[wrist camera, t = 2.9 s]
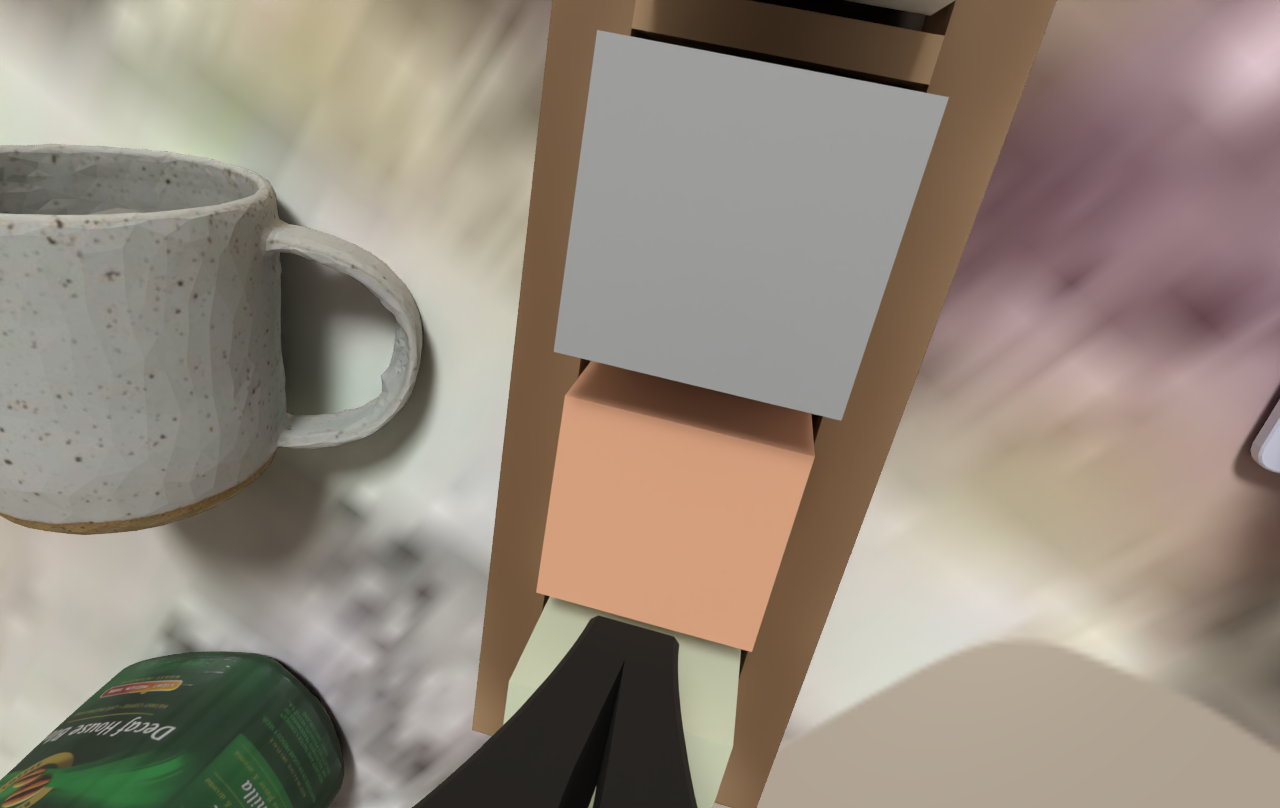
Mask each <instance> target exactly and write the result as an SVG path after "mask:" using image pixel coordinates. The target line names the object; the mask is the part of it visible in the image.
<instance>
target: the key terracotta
mask: <svg viewBox="0 0 1280 808" xmlns="http://www.w3.org/2000/svg"><path fill="white" fill-rule="evenodd" d="M814 458H815V452H814V440H813V428H812V415H811V413H807V412H803V411H799V410H794V409H790V408H786V407H782V406H778V405H774V404H769V403H765V402H761V401H757V400H753V399H749V398H744V397H740V396H736V395H732V394H728V393H724V392H719V391H715V390H711V389H707V388H703V387H699V386H694V385H690V384H686V383H682V382H678V381H674V380H669V379H665V378H661V377H657V376H653V375H649V374H644V373H640V372H636V371H632V370H628V369H624V368H619V367H615V366H611V365H607V364H603V363H599V362H594V361H591V362H590V363H589V365H588V366H587V367H586V368H585V370H584V371H583V372H582V374H581V375H580V376H579V378H578V379H577V380H576V382H575V383H574V384H573V386H572V387H571V388H570V390H569V391H568V392H567V393H566V395H565V399H564V406H563V413H562V420H561V426H560V433H559V440H558V447H557V454H556V461H555V467H554V474H553V481H552V488H551V495H550V501H549V508H548V515H547V522H546V529H545V536H544V542H543V549H542V556H541V563H540V570H539V576H538V583H537V590H536V593H540V594H543V595H547V596H550V597H554V598H558V599H561V600H565V601H569V602H572V603H576V604H579V605H583V606H587V607H590V608H594V609H597V610H601V611H605V612H608V613H612V614H616V615H619V616H623V617H626V618H630V619H634V620H637V621H641V622H644V623H648V624H652V625H655V626H659V627H663V628H666V629H670V630H673V631H677V632H681V633H684V634H688V635H692V636H695V637H699V638H702V639H706V640H710V641H713V642H717V643H720V644H724V645H728V646H731V647H735V648H739V649H742V650H746V651H749V652H752V650H753V647H754V644H755V641H756V638H757V635H758V632H759V628H760V625H761V622H762V619H763V616H764V613H765V610H766V607H767V604H768V601H769V597H770V594H771V591H772V588H773V585H774V582H775V579H776V576H777V573H778V570H779V566H780V563H781V560H782V557H783V554H784V551H785V548H786V545H787V542H788V539H789V535H790V532H791V529H792V526H793V523H794V520H795V517H796V514H797V511H798V508H799V504H800V501H801V498H802V495H803V492H804V489H805V486H806V483H807V480H808V477H809V473H810V470H811V467H812V464H813V461H814Z"/></svg>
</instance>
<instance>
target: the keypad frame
mask: <svg viewBox="0 0 1280 808" xmlns="http://www.w3.org/2000/svg"><path fill="white" fill-rule="evenodd" d="M1056 1H1057V0H955V1H953V2H952V3H950V4H949V5H947V6H945V7H944V8H942V9H940V10H939V11H937V12H936V13H934V14H932V15H931V16H929V15H926V19H925V22H924V25H923V28H922V32H921V31H915V30H910V29H904V28H899V27H893V26H888V25H882V24H877V23H871V22H866V21H861V20H855V19H850V18H844V17H839V16H833V15H828V14H822V13H817V12H811V11H806V10H800V9H795V8H789V7H784V6H778V5H773V4H767V3H762V2H757V1H751V0H552V9H551V18H550V27H549V36H548V45H547V54H546V63H545V72H544V81H543V90H542V100H541V109H540V118H539V127H538V136H537V145H536V154H535V163H534V172H533V181H532V190H531V200H530V209H529V218H528V227H527V236H526V245H525V254H524V263H523V272H522V281H521V290H520V300H519V309H518V318H517V327H516V336H515V345H514V354H513V363H512V372H511V381H510V390H509V399H508V409H507V418H506V427H505V436H504V445H503V454H502V463H501V472H500V481H499V490H498V499H497V509H496V518H495V527H494V536H493V545H492V554H491V563H490V572H489V581H488V590H487V599H486V608H485V618H484V627H483V636H482V645H481V654H480V663H479V672H478V681H477V690H476V699H475V708H474V718H473V727H472V730H474V731H477V732H481V733H484V734H487V735H491V736H493V735H494V734H495V733H496V732H497V731H498V730H499V729H500V728H501V727H502V726H503V722H504V715H505V707H506V700H507V692H508V685H509V680H510V678H511V676H512V674H513V672H514V670H515V668H516V666H517V664H518V662H519V659H520V657H521V655H522V653H523V651H524V649H525V647H526V645H527V643H528V641H529V639H530V637H531V634H532V632H533V630H534V628H535V626H536V624H537V622H538V620H539V618H540V616H541V614H542V612H543V610H544V607H545V605H546V603H547V601H548V599H549V597H550V596H547V595H543V594H540V593H536V590H537V583H538V576H539V570H540V563H541V556H542V549H543V542H544V536H545V529H546V522H547V515H548V508H549V501H550V495H551V488H552V481H553V474H554V467H555V461H556V454H557V447H558V440H559V433H560V426H561V420H562V413H563V406H564V399H565V395H566V393H567V392H568V391H569V390H570V388H571V387H572V386H573V384H574V383H575V382H576V380H577V379H578V378H579V376H580V375H581V374H582V372H583V371H584V370H585V368H586V367H587V366H588V365H589V363H590V362H591V361H590V360H586V359H582V358H578V357H574V356H569V355H565V354H561V353H557V352H554V345H555V338H556V330H557V323H558V316H559V308H560V301H561V293H562V286H563V279H564V271H565V264H566V256H567V249H568V242H569V234H570V227H571V220H572V212H573V205H574V197H575V190H576V183H577V175H578V168H579V160H580V153H581V146H582V138H583V131H584V123H585V116H586V109H587V101H588V94H589V87H590V79H591V72H592V64H593V57H594V50H595V42H596V35H597V30H600V31H605V32H610V33H616V34H621V35H626V36H631V37H637V38H642V39H647V40H652V41H657V42H658V41H660V42H665V43H670V44H675V45H681V46H686V47H691V48H696V49H702V50H707V51H712V52H717V53H722V54H728V55H733V56H738V57H743V58H749V59H754V60H759V61H764V62H770V63H775V64H780V65H785V66H790V67H796V68H801V69H806V70H811V71H817V72H822V73H827V74H832V75H838V76H843V77H848V78H853V79H858V80H864V81H869V82H874V83H879V84H885V85H890V86H895V87H900V88H904V89H909V90H914V91H919V92H924V93H929V94H935V95H940V96H945V97H949V99H948V102H947V105H946V108H945V111H944V114H943V117H942V120H941V123H940V126H939V129H938V132H937V135H936V138H935V141H934V144H933V147H932V150H931V153H930V156H929V159H928V162H927V165H926V168H925V171H924V174H923V177H922V180H921V183H920V186H919V189H918V192H917V195H916V198H915V201H914V204H913V207H912V210H911V213H910V216H909V219H908V222H907V225H906V228H905V231H904V234H903V237H902V240H901V243H900V246H899V249H898V252H897V255H896V258H895V261H894V264H893V267H892V270H891V273H890V276H889V279H888V282H887V285H886V288H885V291H884V294H883V297H882V300H881V303H880V306H879V309H878V312H877V315H876V318H875V321H874V324H873V327H872V330H871V333H870V336H869V339H868V342H867V345H866V348H865V351H864V354H863V357H862V360H861V363H860V366H859V369H858V372H857V375H856V378H855V381H854V384H853V387H852V390H851V393H850V396H849V399H848V402H847V405H846V408H845V411H844V414H843V417H842V420H841V421H840V420H836V419H832V418H828V417H824V416H819V415H815V414H811V415H812V428H813V440H814V452H815V458H814V461H813V464H812V467H811V470H810V473H809V477H808V480H807V483H806V486H805V489H804V492H803V495H802V498H801V501H800V504H799V508H798V511H797V514H796V517H795V520H794V523H793V526H792V529H791V532H790V535H789V539H788V542H787V545H786V548H785V551H784V554H783V557H782V560H781V563H780V566H779V570H778V573H777V576H776V579H775V582H774V585H773V588H772V591H771V594H770V597H769V601H768V604H767V607H766V610H765V613H764V616H763V619H762V622H761V625H760V628H759V632H758V635H757V638H756V641H755V644H754V647H753V650H752V652H749V651H746V650H742V649H741V656H740V669H739V681H738V693H737V705H736V717H735V729H734V741H733V748H732V751H731V754H730V757H729V760H728V763H727V766H726V769H725V772H724V775H723V778H722V781H721V784H720V787H719V790H718V793H717V796H716V799H715V802H714V803H718V804H721V805H724V806H728V807H731V808H757V805H758V802H759V800H760V797H761V794H762V791H763V789H764V786H765V783H766V781H767V778H768V775H769V773H770V770H771V767H772V765H773V762H774V759H775V757H776V754H777V751H778V748H779V746H780V743H781V740H782V738H783V735H784V732H785V730H786V727H787V724H788V722H789V719H790V716H791V713H792V711H793V708H794V705H795V703H796V700H797V697H798V695H799V692H800V689H801V687H802V684H803V681H804V679H805V676H806V673H807V670H808V668H809V665H810V662H811V660H812V657H813V654H814V652H815V649H816V646H817V644H818V641H819V638H820V635H821V633H822V630H823V627H824V625H825V622H826V619H827V617H828V614H829V611H830V609H831V606H832V603H833V601H834V598H835V595H836V592H837V590H838V587H839V584H840V582H841V579H842V576H843V574H844V571H845V568H846V566H847V563H848V560H849V557H850V555H851V552H852V549H853V547H854V544H855V541H856V539H857V536H858V533H859V531H860V528H861V525H862V523H863V520H864V517H865V514H866V512H867V509H868V506H869V504H870V501H871V498H872V496H873V493H874V490H875V488H876V485H877V482H878V479H879V477H880V474H881V471H882V469H883V466H884V463H885V461H886V458H887V455H888V453H889V450H890V447H891V444H892V442H893V439H894V436H895V434H896V431H897V428H898V426H899V423H900V420H901V418H902V415H903V412H904V410H905V407H906V404H907V401H908V399H909V396H910V393H911V391H912V388H913V385H914V383H915V380H916V377H917V375H918V372H919V369H920V366H921V364H922V361H923V358H924V356H925V353H926V350H927V348H928V345H929V342H930V340H931V337H932V334H933V332H934V329H935V326H936V323H937V321H938V318H939V315H940V313H941V310H942V307H943V305H944V302H945V299H946V297H947V294H948V291H949V288H950V286H951V283H952V280H953V278H954V275H955V272H956V270H957V267H958V264H959V262H960V259H961V256H962V254H963V251H964V248H965V245H966V243H967V240H968V237H969V235H970V232H971V229H972V227H973V224H974V221H975V219H976V216H977V213H978V210H979V208H980V205H981V202H982V200H983V197H984V194H985V192H986V189H987V186H988V184H989V181H990V178H991V176H992V173H993V170H994V167H995V165H996V162H997V159H998V157H999V154H1000V151H1001V149H1002V146H1003V143H1004V141H1005V138H1006V135H1007V132H1008V130H1009V127H1010V124H1011V122H1012V119H1013V116H1014V114H1015V111H1016V108H1017V106H1018V103H1019V100H1020V98H1021V95H1022V92H1023V89H1024V87H1025V84H1026V81H1027V79H1028V76H1029V73H1030V71H1031V68H1032V65H1033V63H1034V60H1035V57H1036V54H1037V52H1038V49H1039V46H1040V44H1041V41H1042V38H1043V36H1044V33H1045V30H1046V28H1047V25H1048V22H1049V20H1050V17H1051V14H1052V11H1053V9H1054V6H1055V3H1056Z"/></svg>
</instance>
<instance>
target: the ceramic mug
mask: <svg viewBox="0 0 1280 808" xmlns="http://www.w3.org/2000/svg"><path fill="white" fill-rule="evenodd" d="M280 252H284V253H291V254H295V255H299V256H302V257H304V258H306V259H308V260H310V261H315V262H319V263H322V264H324V265H326V266H329V267H331V268H333V269H336V270H338V271H340V272H342V273H345V274H347V275H349V276H351V277H353V278H354V279H356V280H357V281H359V282H360V283H361V284H362V285H363V286H365V287H366V288H367V289H368V290H369V291H370V292H371V293H372V294H374V295H375V296H376V297H377V298H378V299H379V300H380V302H381V304H382V305H383V306H384V307H385V308H386V309H388V310H389V311H390V312H391V313H393V315H394V316H395V318H396V320H397V330H396V338H395V345H394V352H393V355H392V359H391V362H390V366H389V367H388V369H387V370H386V371H385V372H384V373H383V374H382V375H381V378H382V393H381V394H380V396H379V397H377V398H376V399H374V400H372V401H370V402H369V403H367V404H366V405H364V406H362V407H359V408H356V409H352V410H344V411H342V412H339V413H331V414H320V415H294V414H289V413H288V412H287V411H286V395H285V371H284V365H283V359H282V351H281V279H280V275H281V264H280V260H279V258H280ZM421 350H422V326H421V319H420V314H419V311H418V309H417V306H416V304H415V301H414V299H413V296H412V294H411V292H410V291H409V289H408V288H407V286H406V285H405V284H404V283H403V281H402V280H401V279H400V278H399V277H398V276H397V275H396V274H395V273H394V272H393V271H392V270H391V269H390V268H389V267H388V266H387V265H386V264H385V263H384V262H383V261H382V260H380V259H379V258H377V257H376V256H375V255H373V254H372V253H370V252H368V251H366V250H364V249H362V248H360V247H359V246H357V245H355V244H352V243H350V242H347V241H345V240H343V239H340V238H338V237H336V236H333V235H329V234H326V233H323V232H320V231H317V230H314V229H310V228H307V227H304V226H297V225H291V224H288V223H286V222H284V221H282V220H280V219H279V216H278V211H277V203H276V194H275V191H274V189H273V187H272V185H271V184H270V182H269V181H268V180H266V179H264V178H263V177H261V176H260V175H258V174H257V173H255V172H253V171H250V170H248V169H246V168H242V167H236V166H232V165H228V164H224V163H221V162H219V161H216V160H213V159H208V158H203V157H196V156H190V155H183V154H176V153H172V152H167V151H151V150H147V149H130V148H116V147H105V146H78V145H61V144H43V145H28V146H20V145H3V146H0V516H2V517H4V518H6V519H7V520H9V521H11V522H14V523H16V524H19V525H22V526H25V527H28V528H33V529H39V530H44V531H51V532H59V533H67V534H80V535H90V534H105V533H118V532H127V531H137V530H142V529H147V528H152V527H157V526H162V525H165V524H169V523H172V522H175V521H178V520H181V519H184V518H187V517H190V516H193V515H196V514H198V513H201V512H203V511H206V510H208V509H211V508H213V507H215V506H217V505H219V504H221V503H222V502H224V501H226V500H228V499H230V498H231V497H233V496H235V495H237V494H238V493H239V492H240V491H242V490H243V489H244V488H245V487H247V486H248V485H249V484H250V483H251V482H253V481H254V480H255V479H256V478H257V477H259V476H260V475H261V474H262V473H263V471H264V470H265V469H266V468H267V467H268V465H269V464H270V463H271V462H272V460H273V457H274V455H275V453H276V450H277V448H278V447H289V448H293V449H301V448H307V449H317V448H322V447H333V446H339V445H343V444H346V443H349V442H352V441H356V440H359V439H362V438H365V437H367V436H369V435H371V434H373V433H374V432H376V431H377V430H378V429H380V428H381V427H382V426H384V425H385V424H386V423H388V422H389V421H390V420H391V419H392V418H393V417H394V416H395V415H396V414H397V413H398V412H399V411H400V409H401V408H402V407H403V406H404V405H405V403H406V402H407V401H408V399H409V398H410V395H411V393H412V390H413V388H414V384H415V381H416V378H417V374H418V371H419V366H420V358H421Z"/></svg>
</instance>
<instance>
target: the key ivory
mask: <svg viewBox="0 0 1280 808" xmlns="http://www.w3.org/2000/svg"><path fill="white" fill-rule="evenodd" d="M846 1H851V2H857V3H862V4H868V5H874V6H879V7H885V8H890V9H896V10H901V11H907V12H912V13H918V14H923V15H929V16H931V15H932V14H934V13H936V12H937V11H939V10H940V9H942V8H944V7H945V6H947V5H949V4H950V3H952V2H953V1H955V0H846Z"/></svg>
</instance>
